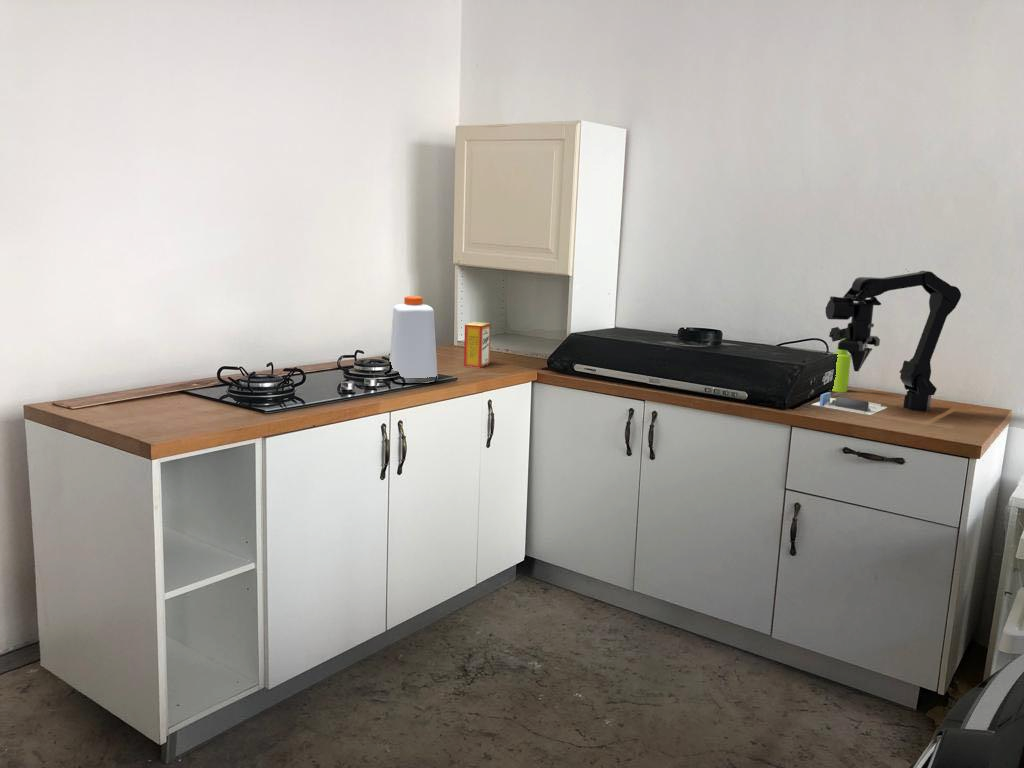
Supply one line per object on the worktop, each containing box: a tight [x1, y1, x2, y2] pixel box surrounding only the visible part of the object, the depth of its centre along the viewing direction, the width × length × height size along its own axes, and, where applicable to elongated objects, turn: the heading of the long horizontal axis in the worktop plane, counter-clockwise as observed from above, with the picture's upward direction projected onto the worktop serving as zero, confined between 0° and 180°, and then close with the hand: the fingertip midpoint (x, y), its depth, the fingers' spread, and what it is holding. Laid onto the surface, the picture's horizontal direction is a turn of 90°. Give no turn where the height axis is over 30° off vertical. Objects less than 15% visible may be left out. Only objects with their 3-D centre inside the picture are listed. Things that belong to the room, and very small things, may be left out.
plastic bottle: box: [389, 295, 438, 378], centre depth 286 cm, size 15×15×28 cm
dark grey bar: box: [835, 396, 869, 411], centre depth 260 cm, size 9×3×3 cm, turn 48°
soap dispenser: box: [831, 338, 852, 393], centre depth 287 cm, size 6×7×20 cm
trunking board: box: [811, 391, 888, 416], centre depth 264 cm, size 18×15×4 cm
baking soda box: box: [463, 321, 492, 368], centre depth 318 cm, size 10×6×16 cm
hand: (856, 371), depth 259 cm, fingers closed
